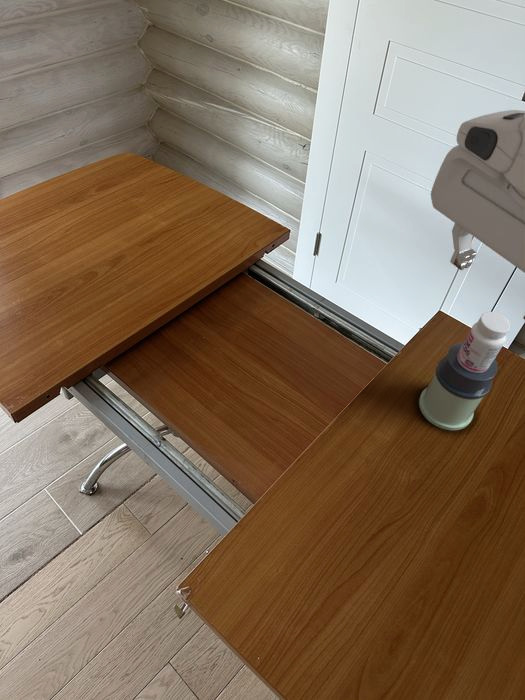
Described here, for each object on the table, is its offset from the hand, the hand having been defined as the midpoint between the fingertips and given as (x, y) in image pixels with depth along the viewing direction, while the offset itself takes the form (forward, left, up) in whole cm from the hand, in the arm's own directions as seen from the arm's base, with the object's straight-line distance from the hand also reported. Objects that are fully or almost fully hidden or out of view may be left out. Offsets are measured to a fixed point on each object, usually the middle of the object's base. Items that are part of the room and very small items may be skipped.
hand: (494, 292), depth 51 cm
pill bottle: (+4, -14, -23) cm, 28 cm away
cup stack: (+4, -15, -35) cm, 38 cm away
